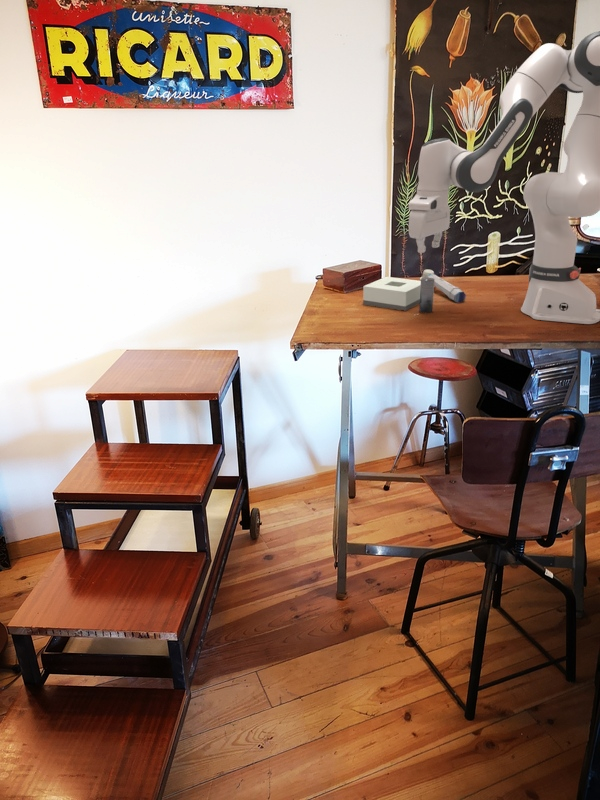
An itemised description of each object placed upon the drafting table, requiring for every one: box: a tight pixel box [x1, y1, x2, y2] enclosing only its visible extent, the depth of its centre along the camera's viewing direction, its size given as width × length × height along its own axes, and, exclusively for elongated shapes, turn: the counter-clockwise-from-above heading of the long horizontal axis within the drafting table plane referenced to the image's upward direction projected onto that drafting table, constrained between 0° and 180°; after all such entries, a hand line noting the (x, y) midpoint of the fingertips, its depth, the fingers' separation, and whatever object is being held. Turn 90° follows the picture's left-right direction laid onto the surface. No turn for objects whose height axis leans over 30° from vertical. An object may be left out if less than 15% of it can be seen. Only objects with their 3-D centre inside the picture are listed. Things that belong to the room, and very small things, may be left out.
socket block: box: [362, 276, 421, 312], centre depth 193 cm, size 15×15×6 cm
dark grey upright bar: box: [418, 278, 435, 314], centre depth 182 cm, size 4×4×10 cm
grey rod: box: [419, 269, 467, 304], centre depth 202 cm, size 5×7×25 cm
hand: (428, 249), depth 176 cm, fingers open, 8 cm apart
